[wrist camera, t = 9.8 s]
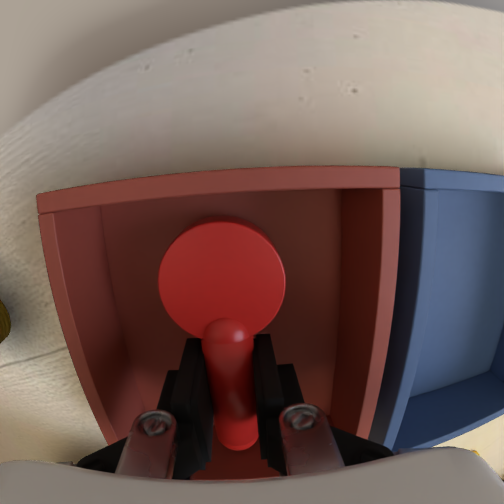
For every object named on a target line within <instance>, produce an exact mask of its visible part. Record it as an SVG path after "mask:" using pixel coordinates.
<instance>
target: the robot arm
mask: <svg viewBox="0 0 504 504" xmlns="http://www.w3.org/2000/svg"><path fill="white" fill-rule="evenodd" d="M253 340H254V349H253V351H252V354H253V369H254V385H255V400H256V414H257V424H258V434H259V444H260V454H261V460H265V459H267V463H268V467H271V468H273V469H275V470H276V471H278V472H279V477H273V478H262V479H247V480H215V481H204V480H194V478H193V474H194V473H195V472H197V471H198V470H205V467H206V462H211V455H212V438H213V421H214V413H213V408H212V402H211V396H210V390H209V384H208V378H207V372H206V365H205V359H204V354H203V351H202V344H201V339H200V338H187V339H186V343H185V347H184V351H183V354H182V358H181V362H180V366H179V370H168V372H167V374H166V378H165V381H164V384H163V388H162V391H161V394H160V398H159V401H158V405H157V408H156V409H155V410H149V411H145V412H143V413H141V414H140V415H138V416H137V417H136V418H135V420H134V421H133V424H132V427H131V429H130V432H129V435H128V436H127V437H125V438H123V439H121V440H119V441H117V442H115V443H113V444H111V445H109V446H107V447H105V448H103V449H101V450H98V451H96V452H94V453H92V454H90V455H88V456H85V457H84V458H82V459H81V460H80V461H79V462H78V463H77V464H73V462H59V463H52V462H45V461H36V460H14V461H8V462H4V463H2V464H0V504H504V482H503V481H502V479H501V478H500V477H499V476H498V474H497V473H496V472H495V471H494V470H493V468H492V467H491V466H490V465H489V464H488V463H487V462H486V461H485V460H484V459H483V458H481V457H480V456H479V455H477V454H476V453H474V452H472V451H470V450H467V449H463V448H456V447H449V446H448V447H433V448H400V449H399V450H398V452H392V451H391V450H390V449H389V448H388V447H386V446H383V445H381V444H378V443H375V442H373V441H370V440H367V439H364V438H361V437H359V436H356V435H353V434H351V433H348V432H345V431H343V430H340V429H338V428H335V427H333V426H330V425H329V423H328V420H327V418H326V415H325V413H324V412H323V410H322V409H321V408H319V407H318V406H316V405H313V404H309V403H305V402H304V398H303V395H302V392H301V388H300V385H299V382H298V378H297V375H296V372H295V368H294V365H293V363H290V364H279V365H277V364H276V359H275V354H274V350H273V345H272V341H271V336H270V334H257V335H256V338H253Z"/></svg>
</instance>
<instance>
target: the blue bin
mask: <svg viewBox="0 0 504 504" xmlns="http://www.w3.org/2000/svg"><path fill="white" fill-rule="evenodd" d="M399 169H400V188H398V189H400V235H399V253H398V268H397V279H396V290H395V299H394V308H393V316H392V323H391V330H390V337H389V343H388V349H387V355H386V361H385V366H384V372H383V377H382V382H381V387H380V391H379V396H378V400H377V405H376V409H375V413H374V417H373V421H372V425H371V429H370V433H369V436H368V440H370V441H373V442H375V443H378V444H381V445H383V446H386V447H388V448H389V449H390V450H391V451H392V452H398V450H399V449H400V448H430V447H433V446H435V445H438V444H440V443H443V442H445V441H448V440H450V439H453V438H455V437H457V436H460V435H462V434H464V433H466V432H469V431H471V430H473V429H475V428H477V427H479V426H481V425H483V424H485V423H487V422H489V421H491V420H493V419H495V418H497V417H499V416H501V415H503V414H504V176H503V175H495V174H487V173H477V172H467V171H456V170H444V169H430V168H399Z"/></svg>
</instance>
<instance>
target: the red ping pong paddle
mask: <svg viewBox="0 0 504 504" xmlns="http://www.w3.org/2000/svg"><path fill="white" fill-rule="evenodd" d="M157 282H158V291H159V296H160V299H161V302H162V304H163V306H164V308H165V310H166V312H167V313H168V315H169V316H170V317H171V319H172V320H173V321H174V322H175V323H176V324H177V325H178V326H179V327H180V328H182V329H183V330H184V331H186V332H187V333H189V334H191V335H193V336H195V337H197V338H200V339H201V344H202V351H203V354H204V359H205V365H206V372H207V378H208V384H209V390H210V396H211V402H212V408H213V413H214V423H215V428H216V433H217V437H218V439H219V441H220V442H221V443H222V444H223V445H224V446H225V447H227V448H228V449H231V450H237V451H240V450H245V449H248V448H250V447H251V446H252V445H253V444H254V443H255V442H256V441H257V439H258V436H259V434H258V424H257V414H256V400H255V385H254V369H253V354H252V351H253V349H254V340H253V335H254V334H256V333H258V332H259V331H261V330H262V329H263V328H265V327H266V326H267V325H268V324H269V323H270V322H271V321H272V320H273V318H274V317H275V316H276V314H277V313H278V311H279V309H280V307H281V305H282V302H283V299H284V296H285V291H286V275H285V270H284V265H283V263H282V260H281V258H280V256H279V254H278V252H277V250H276V248H275V247H274V245H273V243H272V241H271V240H270V239H269V237H268V236H267V235H266V234H265V233H264V232H263V231H262V230H261V229H260V228H258V227H257V226H256V225H254V224H252V223H250V222H249V221H246V220H244V219H241V218H238V217H234V216H226V215H218V216H211V217H207V218H203V219H201V220H198V221H196V222H194V223H192V224H191V225H189V226H188V227H186V228H185V229H184V230H183V231H182V232H181V233H180V234H179V235H178V236H177V237H176V238H175V239H174V241H173V242H172V243H171V244H170V245H169V247H168V248H167V250H166V251H165V253H164V255H163V257H162V259H161V262H160V265H159V270H158V280H157Z"/></svg>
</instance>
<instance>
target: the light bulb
mask: <svg viewBox="0 0 504 504" xmlns="http://www.w3.org/2000/svg"><path fill="white" fill-rule="evenodd" d="M10 330H11V322H10V317H9V314H8V312H7V309H6V307H5V306H4V304H3V303H2V301H1V300H0V344H1V343H2V341H3V340H5V338H6V337H8V335H9V333H10Z"/></svg>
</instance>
